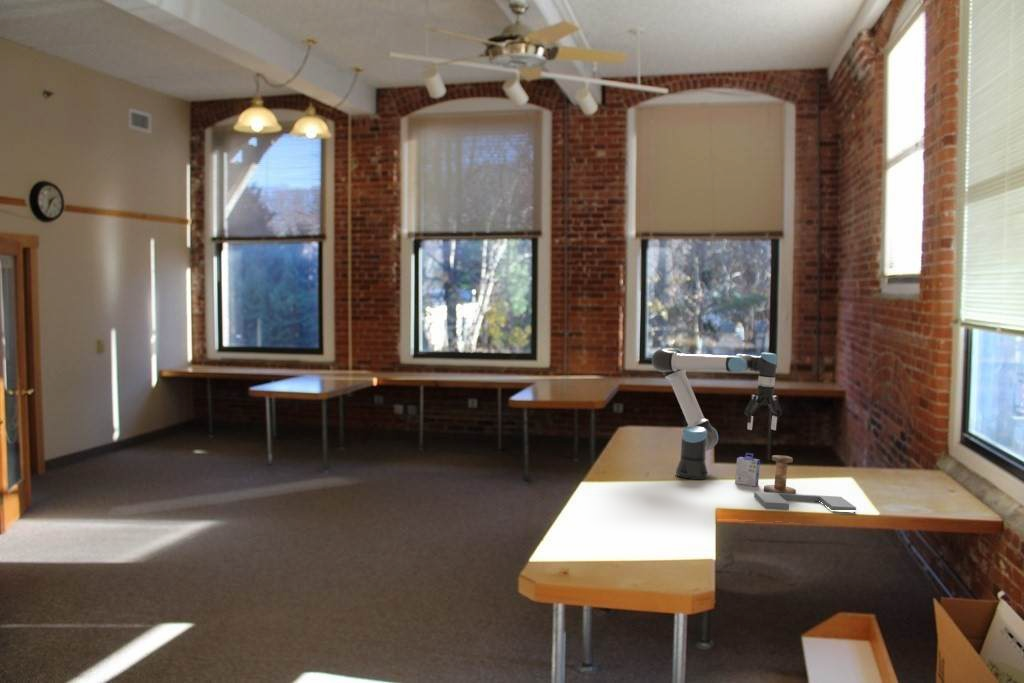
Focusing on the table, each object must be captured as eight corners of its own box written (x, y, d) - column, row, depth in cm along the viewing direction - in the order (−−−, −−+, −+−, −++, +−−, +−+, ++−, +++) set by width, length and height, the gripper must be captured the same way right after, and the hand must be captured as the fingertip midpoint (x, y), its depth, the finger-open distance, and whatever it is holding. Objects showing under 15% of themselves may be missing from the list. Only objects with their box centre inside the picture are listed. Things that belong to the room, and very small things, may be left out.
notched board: (765, 508, 366) (765, 502, 366) (753, 497, 384) (754, 491, 384) (855, 513, 366) (856, 507, 365) (840, 502, 384) (840, 496, 383)
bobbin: (768, 494, 390) (771, 459, 389) (760, 487, 404) (762, 453, 403) (799, 496, 390) (802, 461, 389) (790, 489, 404) (793, 455, 403)
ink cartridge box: (758, 484, 409) (761, 454, 408) (755, 487, 404) (758, 456, 403) (737, 481, 414) (740, 451, 413) (734, 483, 409) (736, 453, 408)
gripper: (748, 386, 404) (744, 431, 406) (792, 387, 413) (788, 431, 415) (739, 383, 411) (734, 427, 413) (782, 384, 420) (778, 428, 422)
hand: (761, 429), depth 414 cm, fingers open, 13 cm apart
